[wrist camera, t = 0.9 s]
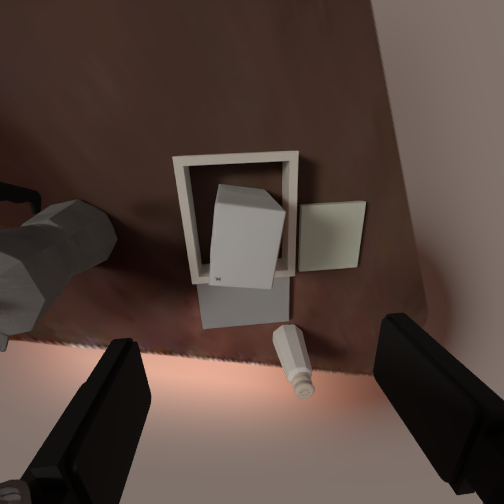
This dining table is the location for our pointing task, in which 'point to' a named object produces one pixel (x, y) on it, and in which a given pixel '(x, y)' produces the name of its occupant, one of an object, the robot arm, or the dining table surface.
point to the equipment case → (210, 297)
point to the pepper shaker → (294, 359)
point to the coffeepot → (46, 256)
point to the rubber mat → (330, 235)
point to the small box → (245, 238)
